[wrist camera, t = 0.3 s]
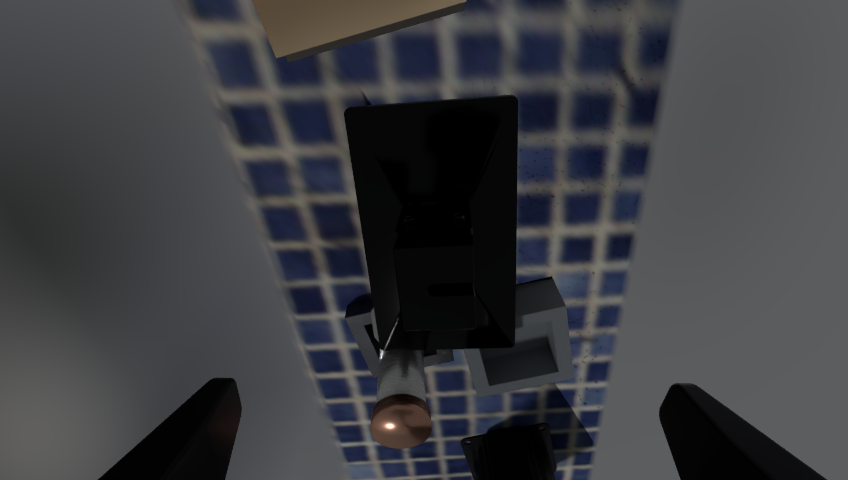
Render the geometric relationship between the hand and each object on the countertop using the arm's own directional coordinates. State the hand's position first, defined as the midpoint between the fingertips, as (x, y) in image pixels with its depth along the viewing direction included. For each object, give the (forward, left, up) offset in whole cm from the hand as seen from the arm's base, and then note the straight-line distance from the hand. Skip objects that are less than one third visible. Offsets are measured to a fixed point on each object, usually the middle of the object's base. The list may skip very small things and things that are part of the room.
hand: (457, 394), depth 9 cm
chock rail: (+7, 0, -13) cm, 15 cm away
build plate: (-3, 0, -14) cm, 14 cm away
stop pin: (-10, +4, -13) cm, 17 cm away
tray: (-11, -2, -13) cm, 17 cm away
